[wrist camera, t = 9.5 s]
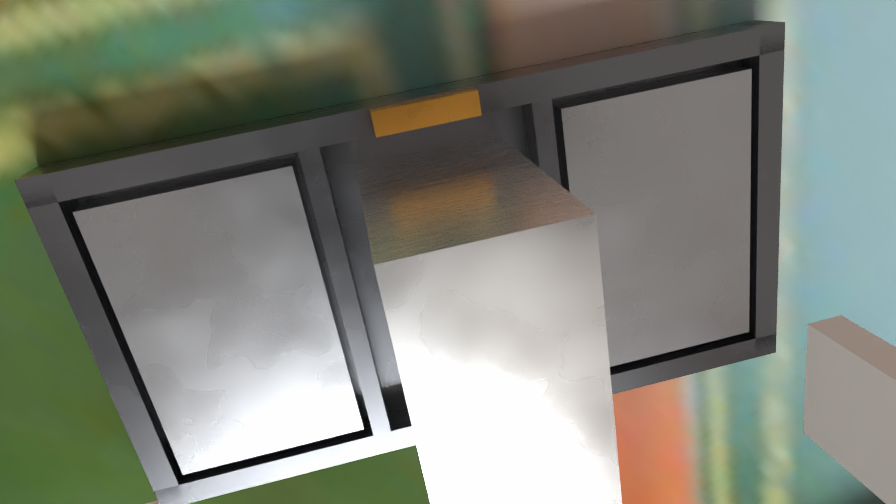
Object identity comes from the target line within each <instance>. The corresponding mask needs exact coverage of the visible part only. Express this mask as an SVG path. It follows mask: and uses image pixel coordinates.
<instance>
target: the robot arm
mask: <svg viewBox="0 0 896 504" xmlns="http://www.w3.org/2000/svg"><path fill="white" fill-rule="evenodd" d="M803 433H805V434H806V435H807V436H808V437H809V438H810V439H812V440H813V441H814V442H815V443H816V444H817V445H818V446H820V447H821V448H822V449H823V450H824V451H825V452H827V453H828V454H829V455H830V456H831V457H832V458H833V459H835V460H836V461H837V462H838V463H839V464H840V465H842V466H843V467H844V468H845V469H846V470H847V471H849V472H850V473H851V474H852V475H853V476H854V477H855V478H857V479H858V480H859V481H860V482H861V483H862V484H864V485H865V486H866V487H867V488H868V489H869V490H870V491H872V492H873V493H874V494H875V495H876V496H877V497H879V498H880V499H881V500H882V501H883V502H884V503H885V504H896V347H894V346H893V345H891V344H889V343H888V342H886V341H884V340H882V339H881V338H879V337H877V336H876V335H874V334H872V333H870V332H869V331H867V330H865V329H864V328H862V327H860V326H859V325H857V324H855V323H853V322H852V321H850V320H848V319H847V318H845V317H843V316H841V315H840V316H837V317H833V318H829V319H826V320H822V321H818V322H815V323H811V324H808V331H807V355H806V379H805V403H804V428H803ZM146 504H160V503H159V501H154V502H150V503H146Z"/></svg>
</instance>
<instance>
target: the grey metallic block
mask: <svg viewBox="0 0 896 504" xmlns="http://www.w3.org/2000/svg"><path fill="white" fill-rule="evenodd" d="M355 168H356V173H357V178H358V184H359V189H360V194H361V200H362V205H363V211H364V216H365V221H366V227H367V232H368V237H369V243H370V248H371V254H372V259H373V264H374V269H375V273H376V277H377V281H378V286H379V290H380V294H381V298H382V302H383V306H384V311H385V315H386V319H387V323H388V327H389V332H390V336H391V340H392V344H393V348H394V353H395V357H396V361H397V365H398V369H399V374H400V378H401V382H402V386H403V390H404V395H405V399H406V403H407V407H408V411H409V416H410V420H411V424H412V428H413V432H414V437H415V441H416V445H417V449H418V453H419V458H420V462H421V466H422V470H423V474H424V479H425V483H426V487H427V491H428V495H429V499H430V504H622V498H621V487H620V476H619V465H618V454H617V442H616V431H615V420H614V409H613V398H612V386H611V375H610V364H609V353H608V342H607V331H606V319H605V308H604V297H603V286H602V275H601V263H600V252H599V241H598V230H597V219H596V213H594V212H593V211H592V210H591V209H589V208H588V207H587V206H586V205H585V204H583V203H582V202H581V201H580V200H578V199H577V198H576V197H575V196H573V195H572V194H571V193H570V192H569V191H567V190H566V189H565V188H564V187H562V186H561V185H560V184H559V183H557V182H556V181H555V180H554V179H552V178H551V177H550V176H549V175H548V174H546V173H545V172H544V171H543V170H541V169H540V168H539V167H538V166H536V165H535V164H534V163H533V162H532V161H530V160H529V159H528V158H527V157H525V156H524V155H523V154H522V153H520V152H519V151H518V150H517V149H515V148H514V147H513V146H512V145H511V144H509V143H508V142H507V141H506V140H504V139H503V138H502V137H501V136H499V135H498V134H497V135H493V136H488V137H483V138H479V139H474V140H469V141H465V142H460V143H455V144H451V145H446V146H441V147H437V148H432V149H427V150H423V151H418V152H413V153H409V154H404V155H399V156H395V157H390V158H385V159H381V160H376V161H371V162H367V163H362V164H357V165H355Z"/></svg>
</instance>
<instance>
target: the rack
mask: <svg viewBox="0 0 896 504" xmlns="http://www.w3.org/2000/svg"><path fill="white" fill-rule="evenodd" d="M784 40H785V22H773V21H757V20H754V21H749V22H744V23H739V24H734V25H729V26H724V27H719V28H714V29H709V30H705V31H700V32H695V33H690V34H685V35H680V36H675V37H670V38H665V39H660V40H655V41H651V42H646V43H641V44H636V45H631V46H626V47H621V48H616V49H611V50H606V51H602V52H597V53H592V54H587V55H582V56H577V57H572V58H567V59H562V60H557V61H552V62H548V63H543V64H538V65H533V66H528V67H523V68H518V69H513V70H508V71H503V72H499V73H494V74H489V75H484V76H479V77H474V78H469V79H464V80H459V81H454V82H449V83H445V84H440V85H435V86H430V87H425V88H420V89H415V90H410V91H405V92H400V93H396V94H391V95H386V96H381V97H376V98H371V99H366V100H361V101H356V102H351V103H346V104H342V105H337V106H332V107H327V108H322V109H317V110H312V111H307V112H302V113H297V114H293V115H288V116H283V117H278V118H273V119H268V120H263V121H258V122H253V123H248V124H243V125H239V126H234V127H229V128H224V129H219V130H214V131H209V132H204V133H199V134H194V135H190V136H185V137H180V138H175V139H170V140H165V141H160V142H155V143H150V144H145V145H140V146H136V147H131V148H126V149H121V150H116V151H111V152H106V153H101V154H96V155H91V156H87V157H82V158H77V159H72V160H67V161H62V162H57V163H52V164H47V165H42V166H37V167H36V168H34V169H32V170H31V171H29V172H27V173H26V174H24V175H23V176H21V177H19V178H18V179H16V180H15V183H16V185H17V187H18V189H19V192H20V194H21V196H22V198H23V200H24V203H25V205H26V207H27V209H28V212H29V214H30V216H31V218H32V221H33V223H34V225H35V227H36V229H37V232H38V234H39V236H40V238H41V241H42V243H43V245H44V247H45V250H46V252H47V254H48V256H49V258H50V261H51V263H52V265H53V267H54V270H55V272H56V274H57V276H58V279H59V281H60V283H61V285H62V288H63V290H64V292H65V294H66V296H67V299H68V301H69V303H70V305H71V308H72V310H73V312H74V314H75V317H76V319H77V321H78V323H79V325H80V328H81V330H82V332H83V334H84V337H85V339H86V341H87V343H88V346H89V348H90V350H91V352H92V355H93V357H94V359H95V361H96V363H97V366H98V368H99V370H100V372H101V375H102V377H103V379H104V381H105V384H106V386H107V388H108V390H109V392H110V395H111V397H112V399H113V401H114V404H115V406H116V408H117V410H118V413H119V415H120V417H121V419H122V421H123V424H124V426H125V428H126V430H127V433H128V435H129V437H130V439H131V442H132V444H133V446H134V448H135V451H136V453H137V455H138V457H139V459H140V462H141V464H142V466H143V468H144V471H145V473H146V475H147V477H148V480H149V482H150V484H151V486H152V488H153V491H154V493H155V495H156V497H157V500H158V501H159V503H160V504H187V503H191V502H195V501H199V500H203V499H207V498H211V497H215V496H219V495H222V494H226V493H230V492H234V491H238V490H242V489H246V488H250V487H254V486H257V485H261V484H265V483H269V482H273V481H277V480H281V479H285V478H289V477H292V476H296V475H300V474H304V473H308V472H312V471H316V470H320V469H324V468H327V467H331V466H335V465H339V464H343V463H347V462H351V461H355V460H359V459H362V458H366V457H370V456H374V455H378V454H382V453H386V452H390V451H394V450H397V449H401V448H405V447H409V446H413V445H416V441H415V437H414V432H413V428H412V424H411V420H410V416H409V411H408V407H407V403H406V399H405V395H404V390H403V386H402V382H401V378H400V374H399V369H398V365H397V361H396V357H395V353H394V348H393V344H392V340H391V336H390V332H389V327H388V323H387V319H386V315H385V311H384V306H383V302H382V298H381V294H380V290H379V286H378V281H377V277H376V273H375V269H374V264H373V259H372V254H371V248H370V243H369V237H368V232H367V227H366V221H365V216H364V211H363V205H362V200H361V194H360V189H359V184H358V178H357V173H356V168H355V165H357V164H362V163H367V162H371V161H376V160H381V159H385V158H390V157H395V156H399V155H404V154H409V153H413V152H418V151H423V150H427V149H432V148H437V147H441V146H446V145H451V144H455V143H460V142H465V141H469V140H474V139H479V138H483V137H488V136H493V135H497V134H498V135H499V136H501V137H502V138H503V139H504V140H506V141H507V142H508V143H509V144H511V145H512V146H513V147H514V148H515V149H517V150H518V151H519V152H520V153H522V154H523V155H524V156H525V157H527V158H528V159H529V160H530V161H532V162H533V163H534V164H535V165H536V166H538V167H539V168H540V169H541V170H543V171H544V172H545V173H546V174H548V175H549V176H550V177H551V178H552V179H554V180H555V181H556V182H557V183H559V184H560V185H561V186H562V187H564V188H565V189H566V190H567V191H569V192H570V193H571V194H572V195H573V196H575V197H576V198H577V199H578V200H580V201H581V202H582V203H583V204H585V205H586V206H587V207H588V208H589V209H591V210H592V211H593V212H594V213H596V219H597V230H598V241H599V252H600V263H601V275H602V286H603V297H604V308H605V319H606V331H607V342H608V353H609V364H610V375H611V386H612V394H615V393H619V392H623V391H627V390H631V389H635V388H639V387H642V386H646V385H650V384H654V383H658V382H662V381H666V380H670V379H674V378H677V377H681V376H685V375H689V374H693V373H697V372H701V371H705V370H709V369H712V368H716V367H720V366H724V365H728V364H732V363H736V362H740V361H744V360H747V359H751V358H755V357H759V356H763V355H767V354H771V353H775V352H776V323H777V288H778V253H779V217H780V182H781V146H782V111H783V75H784Z"/></svg>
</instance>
